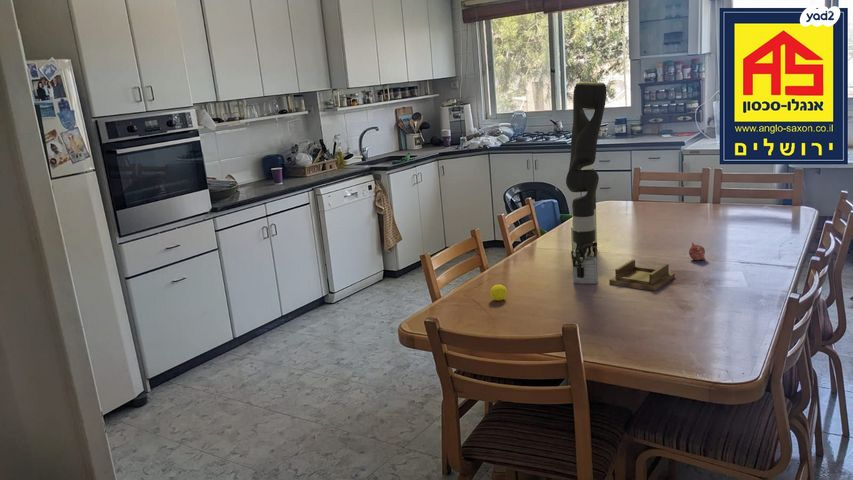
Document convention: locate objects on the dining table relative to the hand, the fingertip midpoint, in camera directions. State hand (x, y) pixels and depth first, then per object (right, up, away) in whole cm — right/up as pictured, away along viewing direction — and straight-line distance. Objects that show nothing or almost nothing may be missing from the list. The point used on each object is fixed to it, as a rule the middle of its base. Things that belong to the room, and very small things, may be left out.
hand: (585, 274), depth 230 cm
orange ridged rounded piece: (+45, +5, +14) cm, 47 cm away
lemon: (-31, -8, -9) cm, 33 cm away
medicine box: (0, -3, +1) cm, 3 cm away
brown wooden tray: (+19, -2, -3) cm, 19 cm away
